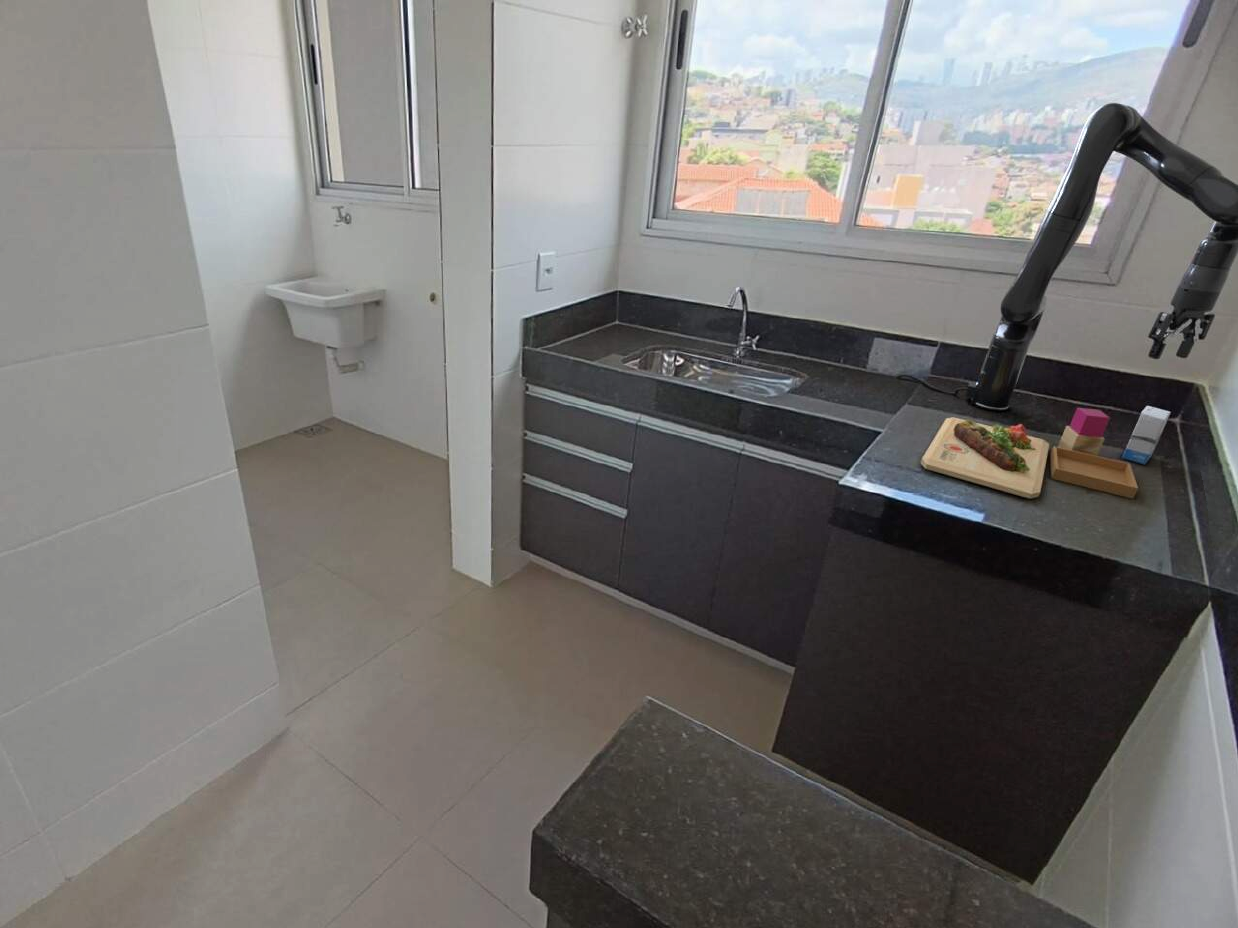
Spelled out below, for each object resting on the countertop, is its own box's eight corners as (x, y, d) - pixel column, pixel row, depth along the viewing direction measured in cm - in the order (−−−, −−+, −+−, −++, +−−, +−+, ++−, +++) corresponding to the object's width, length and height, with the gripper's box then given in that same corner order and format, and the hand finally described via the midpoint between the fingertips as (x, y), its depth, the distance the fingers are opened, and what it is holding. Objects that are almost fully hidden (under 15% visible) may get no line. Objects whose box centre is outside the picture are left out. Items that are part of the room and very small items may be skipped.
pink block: (1078, 435, 154) (1086, 415, 151) (1069, 426, 158) (1077, 407, 156) (1101, 437, 153) (1110, 417, 151) (1091, 429, 158) (1099, 409, 155)
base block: (1067, 458, 156) (1077, 435, 153) (1057, 447, 161) (1066, 425, 159) (1094, 461, 155) (1104, 438, 153) (1083, 450, 161) (1092, 428, 158)
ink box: (1144, 465, 155) (1166, 420, 150) (1119, 458, 158) (1140, 413, 153) (1151, 455, 160) (1173, 411, 155) (1127, 448, 164) (1147, 404, 158)
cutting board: (946, 421, 172) (954, 395, 169) (1047, 447, 161) (1058, 419, 158) (917, 468, 146) (927, 438, 143) (1036, 503, 135) (1049, 471, 131)
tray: (1051, 478, 146) (1055, 468, 144) (1049, 455, 157) (1053, 446, 156) (1133, 498, 139) (1138, 488, 138) (1125, 473, 151) (1130, 463, 149)
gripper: (1206, 283, 149) (1174, 352, 157) (1159, 282, 145) (1128, 353, 153) (1241, 291, 143) (1206, 362, 150) (1193, 290, 139) (1159, 363, 146)
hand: (1167, 357), depth 151 cm, fingers open, 8 cm apart
